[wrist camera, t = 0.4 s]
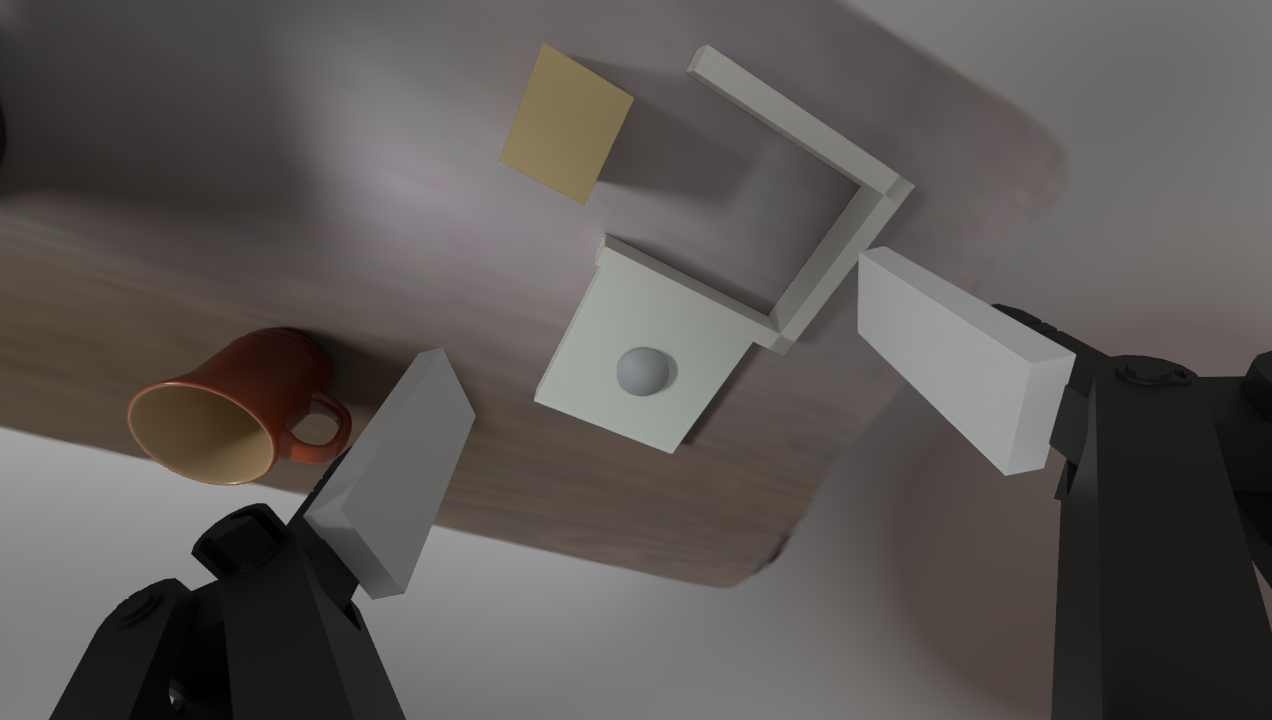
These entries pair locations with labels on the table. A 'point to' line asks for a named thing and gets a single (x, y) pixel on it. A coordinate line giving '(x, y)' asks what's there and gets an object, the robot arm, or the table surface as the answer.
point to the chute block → (565, 125)
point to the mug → (240, 410)
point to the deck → (704, 293)
